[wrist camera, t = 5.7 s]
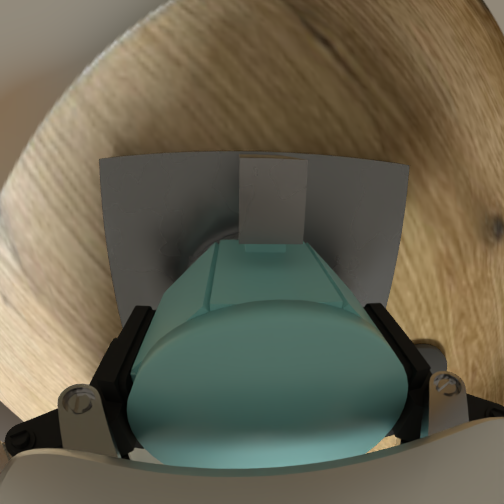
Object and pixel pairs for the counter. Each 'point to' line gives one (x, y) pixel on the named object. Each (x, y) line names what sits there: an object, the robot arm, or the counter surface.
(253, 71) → the counter surface
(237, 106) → the counter surface
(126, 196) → the grey square base plate
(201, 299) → the cap
